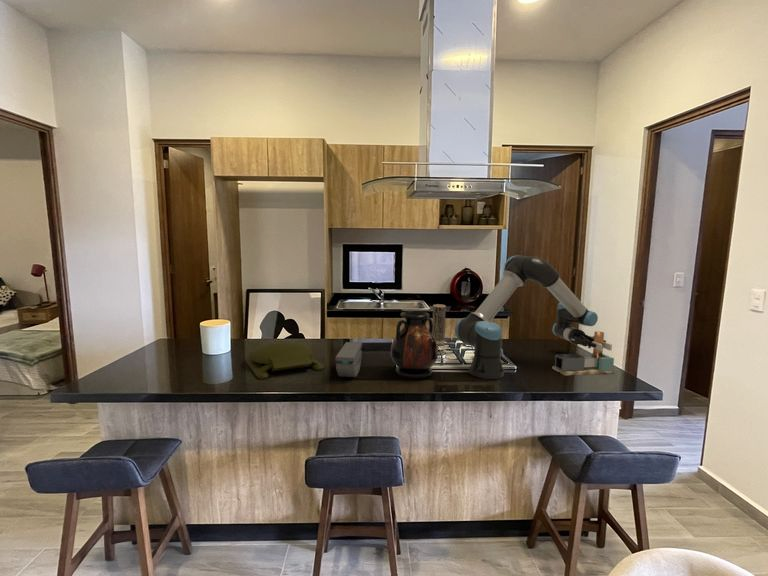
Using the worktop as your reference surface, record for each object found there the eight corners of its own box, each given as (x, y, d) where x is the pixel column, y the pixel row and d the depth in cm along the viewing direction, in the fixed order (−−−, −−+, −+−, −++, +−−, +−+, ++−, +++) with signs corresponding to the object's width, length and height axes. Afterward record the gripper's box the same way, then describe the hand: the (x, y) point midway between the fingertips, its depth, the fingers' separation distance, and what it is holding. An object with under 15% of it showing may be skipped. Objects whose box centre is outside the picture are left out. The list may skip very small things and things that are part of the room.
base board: (564, 375, 187) (564, 372, 187) (552, 368, 197) (552, 366, 197) (613, 373, 191) (613, 370, 191) (598, 366, 201) (599, 364, 201)
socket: (601, 370, 191) (602, 358, 190) (588, 364, 200) (589, 353, 199) (613, 370, 192) (614, 358, 191) (599, 364, 201) (600, 352, 200)
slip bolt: (576, 367, 191) (578, 334, 189) (570, 365, 195) (573, 332, 193) (604, 366, 194) (606, 333, 192) (598, 363, 198) (600, 331, 196)
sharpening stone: (353, 382, 175) (353, 357, 173) (335, 381, 175) (335, 357, 174) (361, 364, 199) (362, 342, 198) (345, 363, 200) (346, 342, 199)
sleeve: (562, 371, 189) (563, 358, 188) (554, 367, 195) (555, 354, 194) (583, 370, 191) (584, 357, 190) (575, 366, 197) (576, 353, 196)
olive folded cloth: (326, 370, 191) (326, 350, 190) (258, 381, 176) (258, 359, 174) (302, 352, 221) (302, 334, 220) (242, 359, 206) (242, 340, 205)
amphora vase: (420, 363, 202) (421, 307, 199) (447, 376, 183) (449, 315, 180) (381, 370, 192) (382, 311, 188) (406, 384, 173) (407, 319, 169)
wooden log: (443, 348, 231) (445, 304, 227) (444, 351, 224) (446, 306, 221) (431, 347, 231) (433, 304, 228) (432, 351, 224) (433, 306, 221)
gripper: (589, 342, 213) (622, 354, 191) (559, 343, 211) (589, 356, 188) (590, 328, 212) (623, 339, 190) (560, 328, 210) (590, 340, 187)
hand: (606, 347), depth 189 cm, fingers closed on slip bolt, 4 cm apart
